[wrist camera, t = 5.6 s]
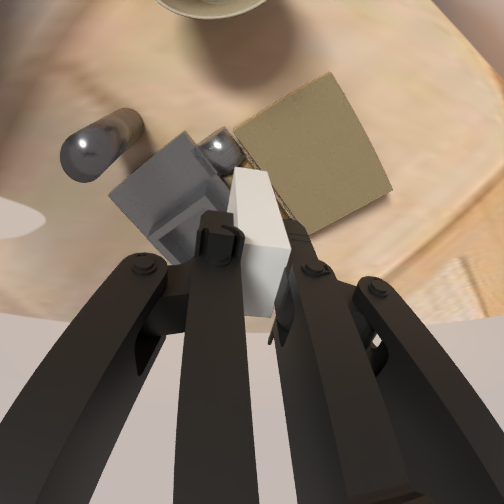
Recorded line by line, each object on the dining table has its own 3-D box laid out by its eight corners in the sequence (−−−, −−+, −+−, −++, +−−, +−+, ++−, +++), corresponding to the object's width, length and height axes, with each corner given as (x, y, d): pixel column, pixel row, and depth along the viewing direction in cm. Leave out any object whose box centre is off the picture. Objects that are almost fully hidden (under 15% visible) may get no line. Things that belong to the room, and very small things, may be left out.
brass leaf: (205, 147, 29) (200, 156, 27) (328, 71, 24) (335, 74, 22) (280, 243, 35) (281, 259, 33) (389, 185, 31) (398, 197, 28)
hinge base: (111, 191, 31) (99, 206, 28) (213, 109, 27) (211, 114, 24) (217, 302, 39) (216, 322, 36) (313, 246, 36) (320, 265, 33)
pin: (101, 125, 27) (51, 156, 19) (127, 100, 26) (82, 121, 18) (124, 151, 29) (83, 192, 20) (150, 128, 28) (115, 160, 19)
